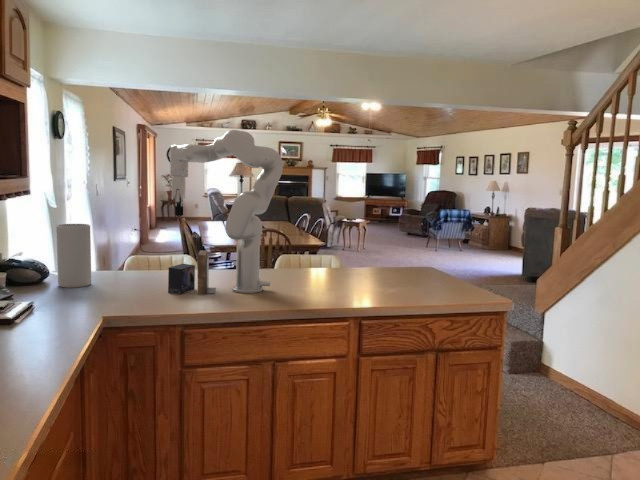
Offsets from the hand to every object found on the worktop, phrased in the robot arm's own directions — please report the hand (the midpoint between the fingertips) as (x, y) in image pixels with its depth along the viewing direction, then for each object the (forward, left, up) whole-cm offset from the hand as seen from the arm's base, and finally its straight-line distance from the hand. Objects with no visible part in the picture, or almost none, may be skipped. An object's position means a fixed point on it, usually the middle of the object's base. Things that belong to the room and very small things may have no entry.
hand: (179, 215), depth 224 cm
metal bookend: (-15, +22, -29) cm, 39 cm away
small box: (-3, +22, -29) cm, 37 cm away
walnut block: (-12, +22, -29) cm, 38 cm away
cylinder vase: (+41, +10, -29) cm, 51 cm away
